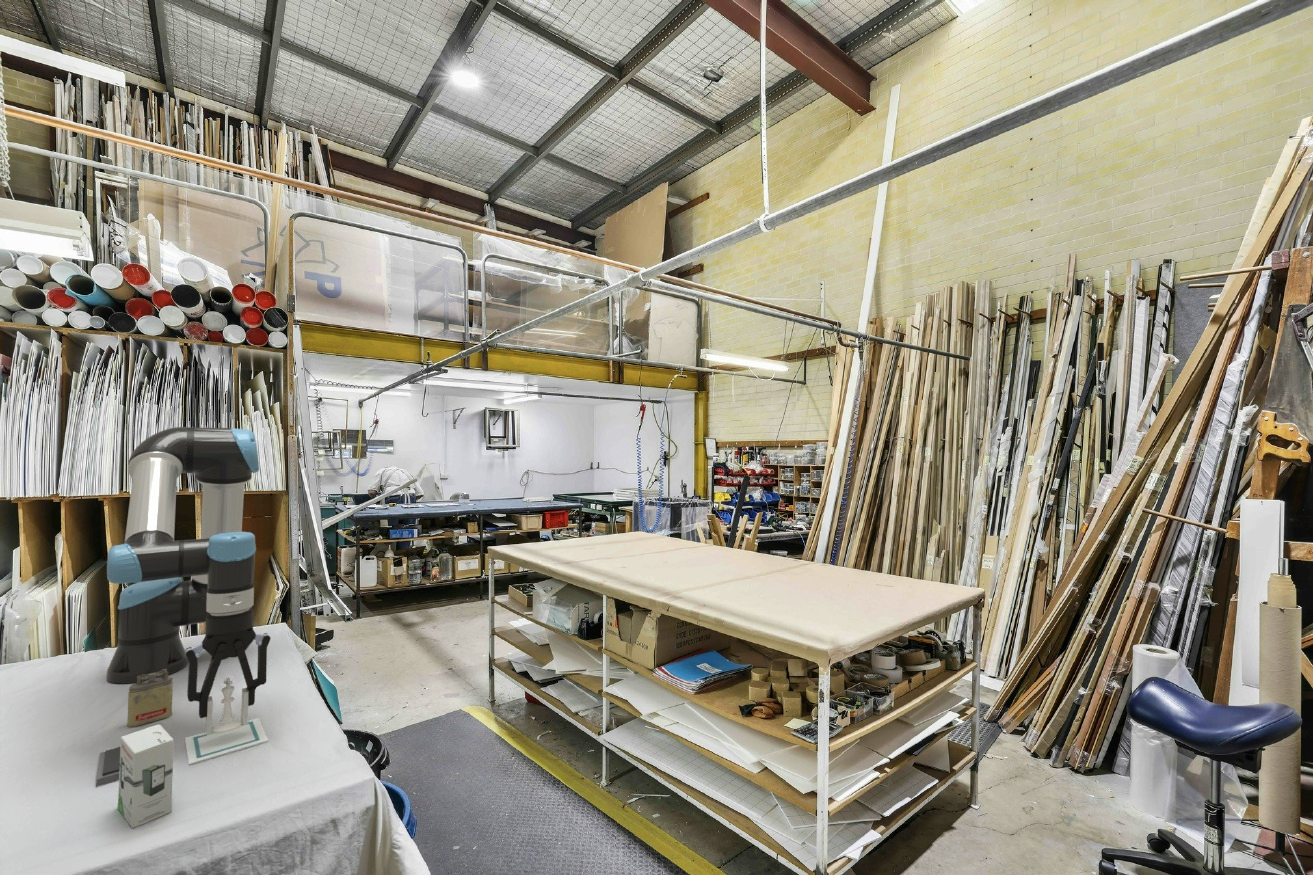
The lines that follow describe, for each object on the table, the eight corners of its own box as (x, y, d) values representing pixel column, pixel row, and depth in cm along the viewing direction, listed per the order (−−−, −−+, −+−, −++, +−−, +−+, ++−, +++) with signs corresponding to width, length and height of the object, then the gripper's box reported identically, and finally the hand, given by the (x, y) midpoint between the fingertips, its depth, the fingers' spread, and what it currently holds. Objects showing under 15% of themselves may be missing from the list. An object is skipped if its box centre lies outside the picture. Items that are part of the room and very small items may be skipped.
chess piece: (224, 736, 105) (226, 684, 106) (204, 733, 106) (205, 682, 107) (248, 723, 110) (250, 674, 110) (228, 720, 111) (230, 671, 111)
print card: (184, 739, 109) (185, 737, 109) (258, 719, 117) (258, 717, 117) (188, 765, 100) (188, 763, 100) (268, 741, 108) (268, 739, 108)
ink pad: (99, 759, 101) (99, 750, 101) (157, 743, 107) (157, 735, 107) (96, 786, 93) (96, 777, 93) (159, 767, 99) (159, 759, 99)
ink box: (116, 808, 88) (118, 734, 88) (156, 792, 92) (158, 722, 92) (131, 829, 83) (133, 752, 84) (173, 811, 87) (175, 738, 88)
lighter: (128, 729, 112) (129, 680, 112) (125, 722, 114) (127, 675, 115) (173, 716, 117) (175, 670, 118) (170, 710, 120) (171, 665, 120)
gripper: (171, 624, 100) (167, 751, 99) (287, 606, 112) (284, 719, 112) (169, 615, 105) (165, 735, 105) (280, 598, 118) (277, 706, 117)
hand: (226, 726), depth 108 cm, fingers closed on chess piece, 5 cm apart
